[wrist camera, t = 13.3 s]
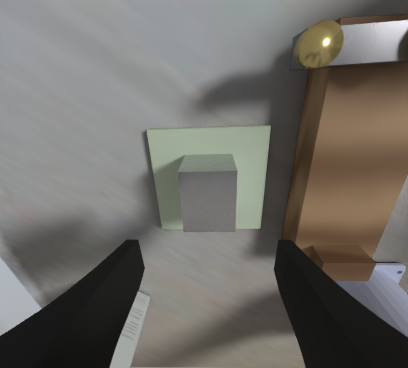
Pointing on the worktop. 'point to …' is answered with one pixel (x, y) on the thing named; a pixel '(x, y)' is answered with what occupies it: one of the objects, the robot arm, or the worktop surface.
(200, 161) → the grey block
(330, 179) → the plane body
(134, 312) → the supplement box
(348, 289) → the robot arm
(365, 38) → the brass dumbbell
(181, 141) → the felt pad
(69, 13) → the worktop surface
